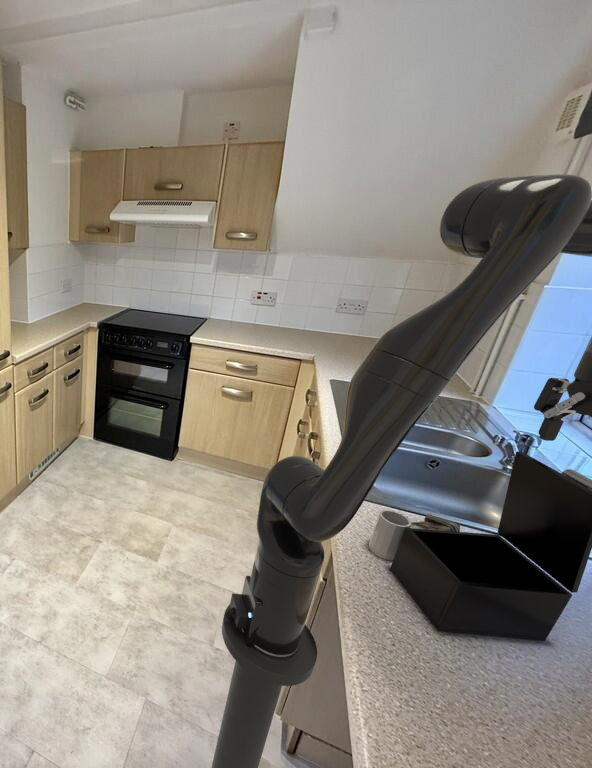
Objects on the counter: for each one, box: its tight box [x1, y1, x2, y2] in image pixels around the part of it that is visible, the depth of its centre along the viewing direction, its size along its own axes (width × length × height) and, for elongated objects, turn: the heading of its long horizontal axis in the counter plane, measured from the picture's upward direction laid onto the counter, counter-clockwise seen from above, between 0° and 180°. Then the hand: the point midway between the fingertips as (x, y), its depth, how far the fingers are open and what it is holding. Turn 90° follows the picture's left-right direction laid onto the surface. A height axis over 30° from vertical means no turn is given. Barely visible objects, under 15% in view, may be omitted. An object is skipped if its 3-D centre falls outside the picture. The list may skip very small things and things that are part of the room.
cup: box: [368, 509, 412, 561], centre depth 85 cm, size 5×5×8 cm
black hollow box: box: [389, 528, 573, 642], centre depth 73 cm, size 17×14×10 cm
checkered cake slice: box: [410, 513, 461, 532], centre depth 89 cm, size 10×7×12 cm
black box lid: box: [497, 450, 592, 594], centre depth 67 cm, size 17×14×5 cm
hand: (575, 451), depth 66 cm, fingers open, 8 cm apart
